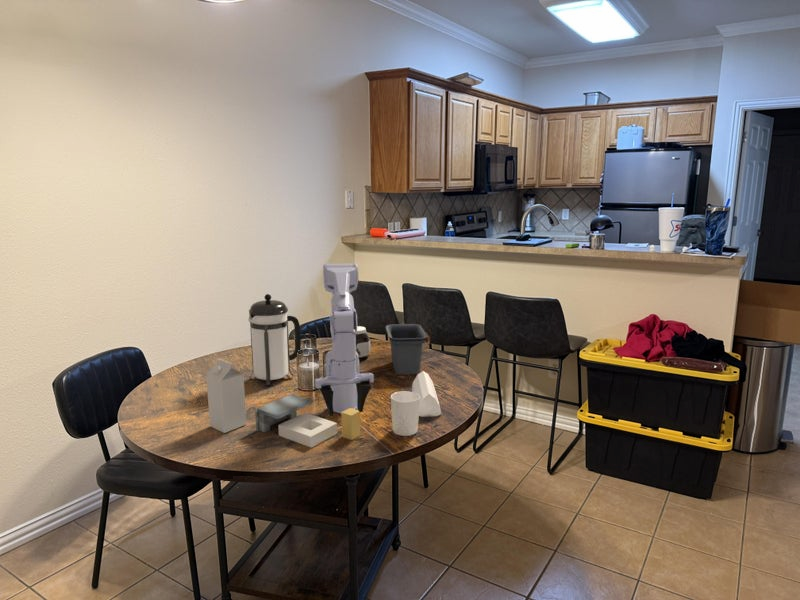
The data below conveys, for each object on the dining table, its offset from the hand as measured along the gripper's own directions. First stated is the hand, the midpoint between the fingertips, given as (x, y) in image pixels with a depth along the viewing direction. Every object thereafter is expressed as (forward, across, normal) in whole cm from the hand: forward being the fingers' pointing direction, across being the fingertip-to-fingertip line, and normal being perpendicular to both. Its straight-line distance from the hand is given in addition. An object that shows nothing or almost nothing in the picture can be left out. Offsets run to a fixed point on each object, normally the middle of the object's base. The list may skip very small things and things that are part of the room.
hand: (345, 413), depth 134 cm
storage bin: (+4, +40, +54) cm, 67 cm away
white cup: (+9, +19, +6) cm, 22 cm away
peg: (+9, +4, +8) cm, 13 cm away
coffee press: (+5, -7, +62) cm, 62 cm away
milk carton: (+8, -26, +28) cm, 39 cm away
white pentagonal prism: (+8, +32, +21) cm, 39 cm away
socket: (+9, -6, +14) cm, 18 cm away
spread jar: (+3, +26, +71) cm, 76 cm away
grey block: (+8, -11, +21) cm, 26 cm away
